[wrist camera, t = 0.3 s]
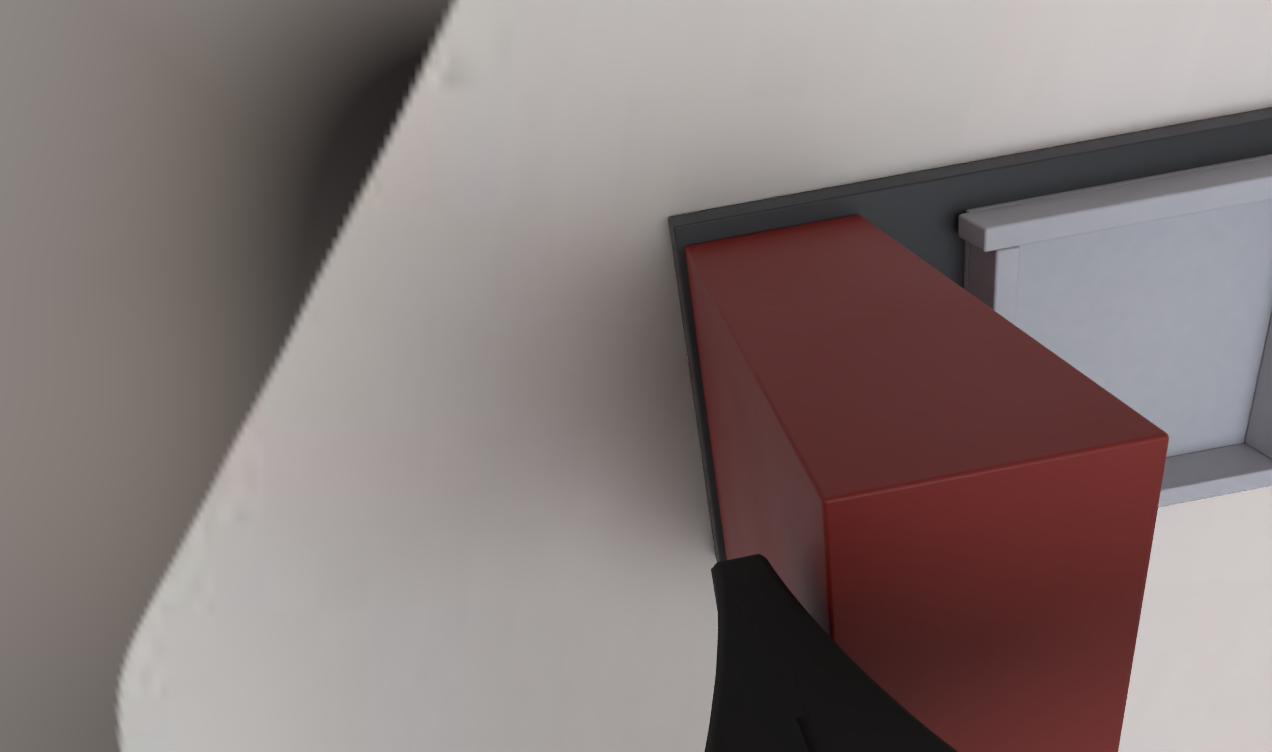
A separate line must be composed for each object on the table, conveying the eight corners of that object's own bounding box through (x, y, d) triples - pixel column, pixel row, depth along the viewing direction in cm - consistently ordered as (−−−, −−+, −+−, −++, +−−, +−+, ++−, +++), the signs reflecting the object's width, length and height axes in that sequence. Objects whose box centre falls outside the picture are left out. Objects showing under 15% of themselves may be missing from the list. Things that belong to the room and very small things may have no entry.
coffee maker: (1250, 454, 25) (1765, 792, 15) (715, 557, 25) (842, 980, 14) (1329, 96, 21) (2180, 209, 10) (667, 216, 20) (803, 470, 10)
